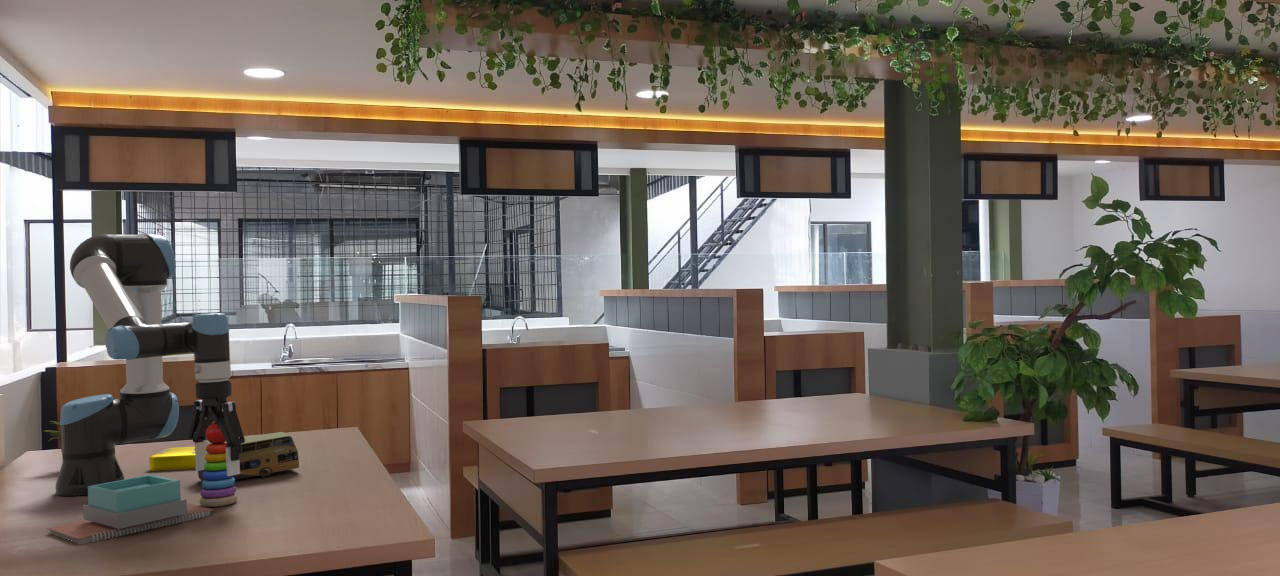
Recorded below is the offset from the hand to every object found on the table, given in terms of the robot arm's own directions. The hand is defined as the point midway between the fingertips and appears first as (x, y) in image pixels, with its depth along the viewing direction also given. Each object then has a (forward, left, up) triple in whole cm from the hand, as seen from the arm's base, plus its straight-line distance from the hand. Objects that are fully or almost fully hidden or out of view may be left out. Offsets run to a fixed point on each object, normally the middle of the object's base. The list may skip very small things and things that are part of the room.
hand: (217, 472), depth 219 cm
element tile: (-58, +22, -8) cm, 63 cm away
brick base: (+3, -20, -5) cm, 21 cm away
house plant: (-84, +4, -8) cm, 85 cm away
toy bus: (-23, +21, -8) cm, 32 cm away
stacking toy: (0, 0, -8) cm, 8 cm away
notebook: (+1, -20, -8) cm, 21 cm away
